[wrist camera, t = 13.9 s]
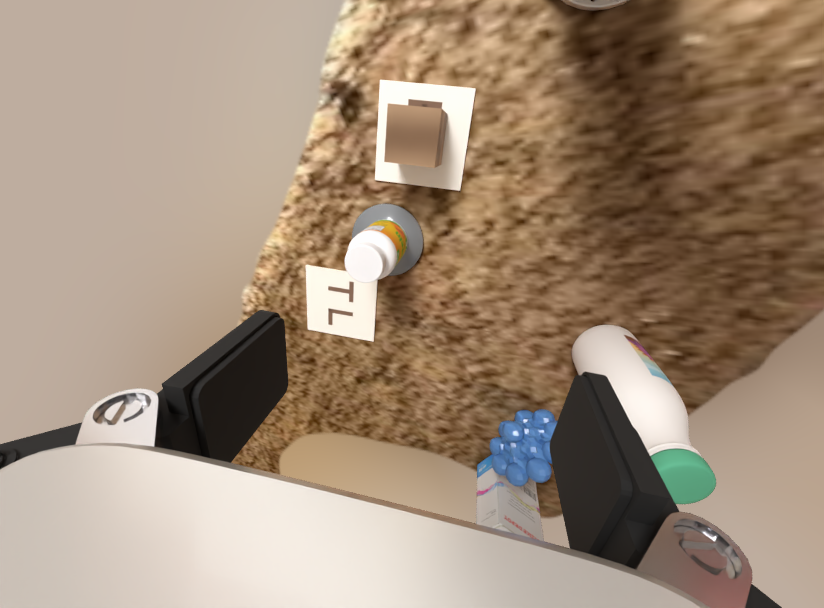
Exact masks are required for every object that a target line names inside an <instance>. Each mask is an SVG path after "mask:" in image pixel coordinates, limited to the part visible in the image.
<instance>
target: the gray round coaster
mask: <svg viewBox="0 0 824 608" xmlns="http://www.w3.org/2000/svg"><path fill="white" fill-rule="evenodd" d="M383 219H387V220H392V221H395V222H397V223H398V224H399V225H400V226H401V227H402V228H403V229H404V231H405V232H406V235H407V239H408V245H407V249H406V252H405V253H404V255H403V256H402V258H401V259H400V261H399V262H398V264H397V265H396V266H395V268H394V269H393V270H392V272H391V273H390V274H389V275H387V276H393V275H399V274H402V273H404V272H406V271H408V270H409V269H411V268H412V267H413V266H414V265H415V264H416V262H417V261H418V259H419V257H420V255H421V253H422V249H423V234H422V230H421V227H420V225H419V223H418V222H417V220H416V219H415V217H414V216H413V215H412V214H411V213H410V212H408V211H407V210H406V209H404V208H402V207H400V206H397V205H394V204H386V203H385V204H378V205H375V206H372V207H370V208H368V209H367V210H365V211H364V212H363V213H362V214H361V215H360V216H359V217H358V219H357V220H356V222H355V225H354V228H353V232H352V239H353V238H354V237H355V236H356V235H357V234H359V233H360V232H362V231H363V230H364V229H366V228H367V227H368V226H370V225H371V224H373V223H374V222H376V221H378V220H383Z"/></svg>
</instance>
